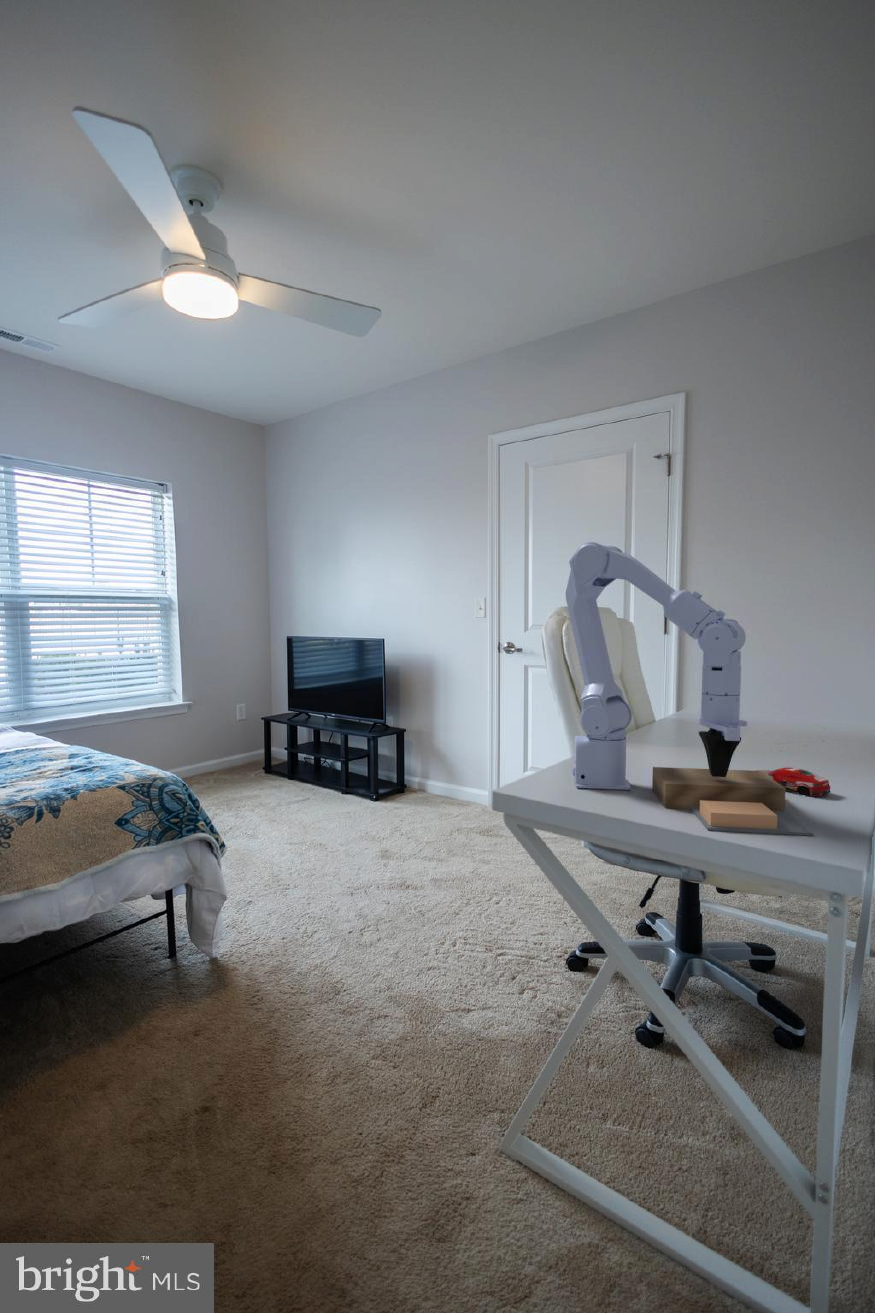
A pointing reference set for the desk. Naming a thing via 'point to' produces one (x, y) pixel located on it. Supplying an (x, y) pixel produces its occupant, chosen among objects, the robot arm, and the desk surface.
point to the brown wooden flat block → (715, 788)
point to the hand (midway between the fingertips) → (718, 775)
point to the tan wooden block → (738, 814)
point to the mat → (784, 826)
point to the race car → (799, 781)
